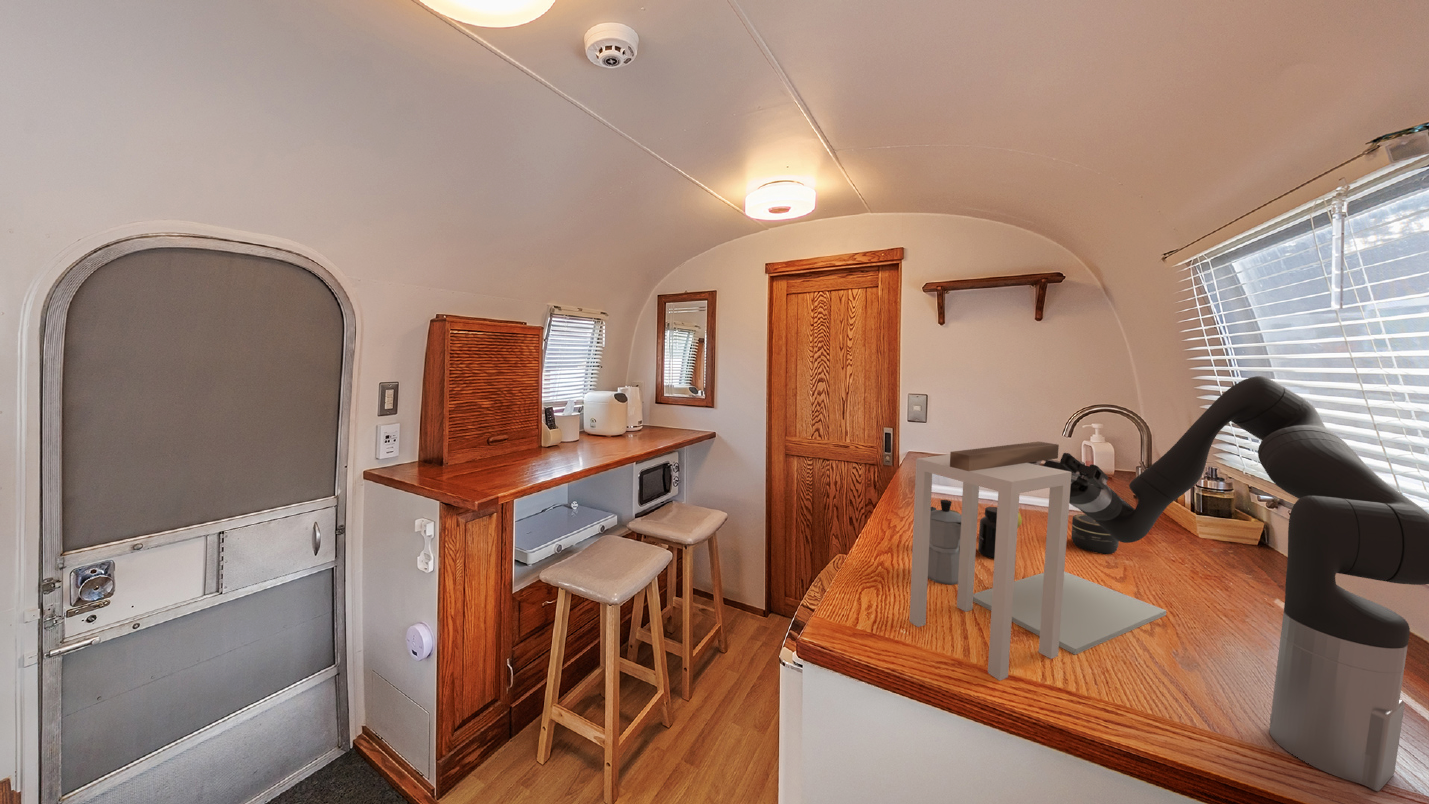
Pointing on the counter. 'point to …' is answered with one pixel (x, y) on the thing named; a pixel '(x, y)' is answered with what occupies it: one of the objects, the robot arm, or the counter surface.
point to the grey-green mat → (1077, 611)
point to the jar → (1092, 536)
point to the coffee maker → (944, 544)
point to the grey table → (1009, 488)
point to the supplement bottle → (988, 533)
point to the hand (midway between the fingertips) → (1039, 453)
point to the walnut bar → (1003, 455)
